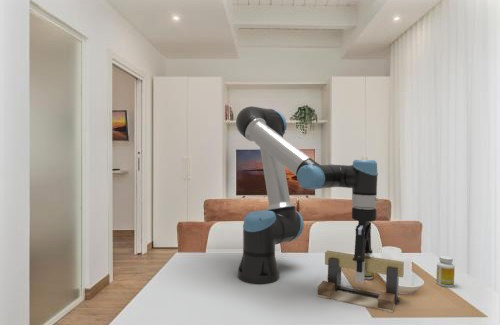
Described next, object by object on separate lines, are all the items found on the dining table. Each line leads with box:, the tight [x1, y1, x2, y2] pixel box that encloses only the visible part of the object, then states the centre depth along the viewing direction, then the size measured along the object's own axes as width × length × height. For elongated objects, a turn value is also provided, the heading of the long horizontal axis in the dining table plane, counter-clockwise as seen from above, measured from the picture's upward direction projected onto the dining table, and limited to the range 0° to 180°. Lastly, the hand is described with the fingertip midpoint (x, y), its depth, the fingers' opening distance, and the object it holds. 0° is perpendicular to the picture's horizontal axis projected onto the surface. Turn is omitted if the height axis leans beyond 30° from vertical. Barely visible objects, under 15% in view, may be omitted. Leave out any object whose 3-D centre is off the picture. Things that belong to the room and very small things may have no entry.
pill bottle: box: [364, 247, 375, 280], centre depth 126 cm, size 6×6×11 cm
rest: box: [316, 280, 396, 313], centre depth 105 cm, size 22×7×3 cm, turn 62°
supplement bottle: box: [435, 255, 456, 288], centre depth 120 cm, size 5×5×10 cm
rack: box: [327, 258, 400, 305], centre depth 110 cm, size 22×6×10 cm, turn 62°
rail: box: [324, 250, 405, 278], centre depth 110 cm, size 24×3×4 cm, turn 62°
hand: (362, 277), depth 110 cm, fingers open, 9 cm apart
